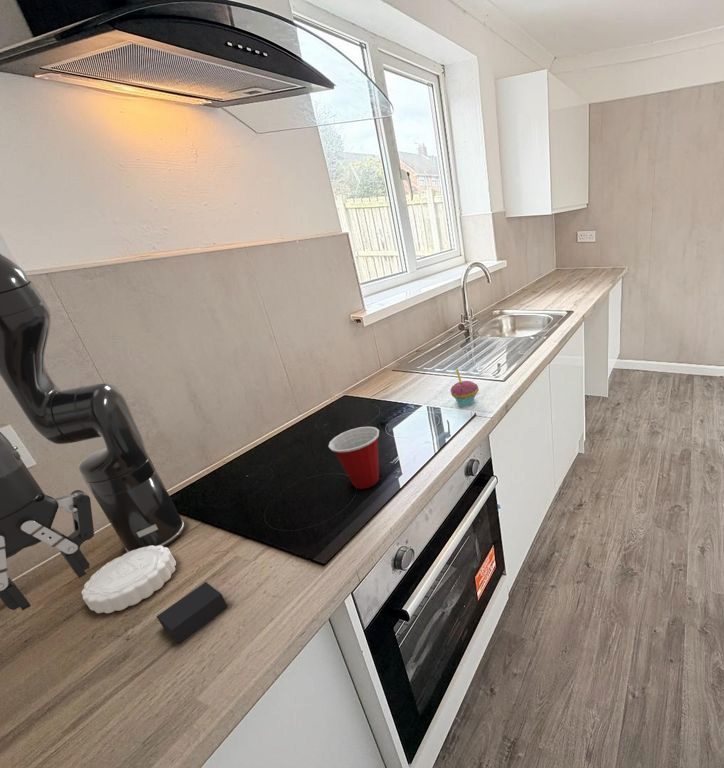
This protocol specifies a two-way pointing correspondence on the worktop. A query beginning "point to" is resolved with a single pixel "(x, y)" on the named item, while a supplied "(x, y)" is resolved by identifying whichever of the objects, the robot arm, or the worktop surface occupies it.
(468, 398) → the cupcake
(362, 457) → the plastic cup
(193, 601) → the eraser
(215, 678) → the worktop surface
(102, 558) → the worktop surface
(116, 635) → the worktop surface
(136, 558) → the mooncake
